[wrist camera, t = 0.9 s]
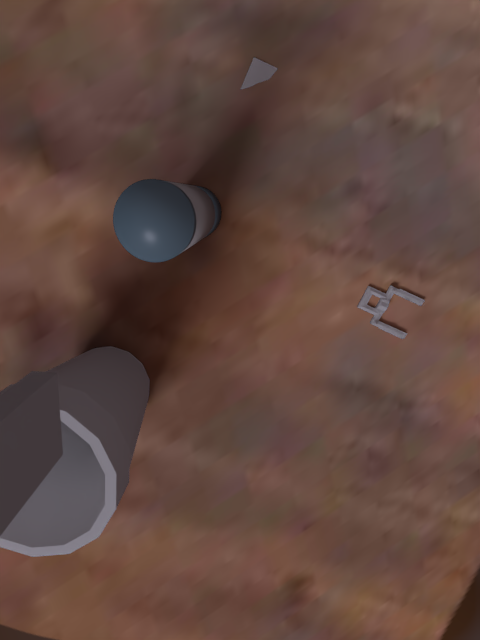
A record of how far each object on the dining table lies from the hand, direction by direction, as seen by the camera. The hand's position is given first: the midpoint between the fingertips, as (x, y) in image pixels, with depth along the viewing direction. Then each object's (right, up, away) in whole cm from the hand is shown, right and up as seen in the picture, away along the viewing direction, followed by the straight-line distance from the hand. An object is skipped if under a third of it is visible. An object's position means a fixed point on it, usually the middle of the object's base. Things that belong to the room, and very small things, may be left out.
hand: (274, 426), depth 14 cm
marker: (-4, +11, +19) cm, 22 cm away
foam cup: (-11, -2, +23) cm, 26 cm away
